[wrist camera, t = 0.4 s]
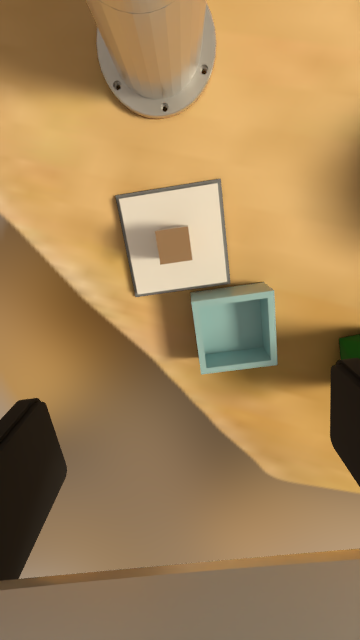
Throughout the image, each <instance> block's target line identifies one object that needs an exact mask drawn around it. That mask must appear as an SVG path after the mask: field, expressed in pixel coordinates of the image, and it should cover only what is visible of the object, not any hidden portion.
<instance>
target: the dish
mask: <svg viewBox="0 0 360 640" xmlns="http://www.w3.org/2000/svg"><path fill="white" fill-rule="evenodd" d="M190 294H191V304H192V311H193V319H194V326H195V333H196V340H197V347H198V355H199V362H200V369H201V374H208V373H216V372H225V371H233V370H241V369H249V368H257V367H265V366H273V365H278V364H277V342H276V320H275V299H274V290H273V289H272V288H270V287H269V286H268V285H266V284H265V283H264V282H261V283H254V284H247V285H239V286H232V287H225V288H218V289H211V290H204V291H197V292H190Z"/></svg>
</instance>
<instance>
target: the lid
mask: <svg viewBox="0 0 360 640" xmlns="http://www.w3.org/2000/svg"><path fill="white" fill-rule="evenodd" d="M119 202H120V207H121V212H122V217H123V223H124V228H125V233H126V238H127V243H128V248H129V253H130V258H131V263H132V268H133V273H134V278H135V283H136V289H137V294H145V293H152V292H159V291H166V290H173V289H180V288H187V287H194V286H202V285H209V284H216V283H223V282H227V275H226V265H225V254H224V244H223V233H222V223H221V213H220V202H219V192H218V183H215V184H209V185H203V186H196V187H190V188H184V189H178V190H171V191H165V192H159V193H153V194H146V195H140V196H134V197H128V198H122V199H119Z"/></svg>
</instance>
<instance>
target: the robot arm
mask: <svg viewBox="0 0 360 640" xmlns="http://www.w3.org/2000/svg"><path fill="white" fill-rule="evenodd" d="M86 3H87V5H88V7H89V9H90V12H91V14H92V16H93V18H94V20H95V23H96V25H97V38H96V46H97V55H98V60H99V64H100V67H101V71H102V73H103V75H104V78H105V80H106V82H107V84H108V86H109V87H110V89H111V91H112V92H113V94H114V95H115V96H116V97H117V99H118V100H119V101H120V102H121V103H122V104H123V105H125V106H126V107H127V108H128V109H130V110H131V111H133V112H135V113H136V114H138V115H141V116H144V117H147V118H156V119H161V118H169V117H172V116H175V115H177V114H180V113H181V112H183V111H185V110H186V109H188V108H189V107H190V106H191V105H192V104H193V103H194V102H195V101H197V99H198V98H199V97H200V95H201V94H202V93H203V91H204V89H205V87H206V85H207V83H208V81H209V79H210V76H211V73H212V70H213V66H214V60H215V53H216V34H215V26H214V22H213V18H212V14H211V12H210V9H209V7H208V5H207V2H206V0H86ZM202 71H205V72H206V74H202ZM118 86H120V87H121V88H120V89H119V90H117V87H118ZM163 108H167V111H166V112H164V111H163ZM330 438H331V442H332V445H333V447H334V449H335V450H336V452H337V453H338V455H339V456H340V458H341V459H342V461H343V462H344V464H345V465H346V467H347V468H348V470H349V471H350V473H351V474H352V476H353V477H354V479H355V480H356V482H357V483H358V485H359V486H360V359H359V358H351V359H343V360H338V361H337V363H336V365H333V366H332V367H331V409H330ZM66 473H67V467H66V463H65V460H64V457H63V454H62V451H61V448H60V445H59V442H58V439H57V436H56V433H55V430H54V427H53V424H52V421H51V418H50V415H49V412H48V409H47V406H46V404H45V403H44V402H41V401H40V400H39V399H38V398H34V399H26V400H19V401H18V402H16V404H15V405H14V406H13V407H12V408H11V409H10V410H9V411H8V412H7V413H6V414H5V415H4V416H3V417H2V419H1V420H0V640H360V549H351V550H350V549H349V550H337V551H325V552H314V553H301V554H290V555H277V556H266V557H254V558H243V559H230V560H221V561H220V560H219V561H208V562H196V563H186V564H174V565H163V566H152V567H141V568H130V569H119V570H109V571H97V572H87V573H77V574H66V575H55V576H45V577H35V578H24V579H19V576H20V574H21V572H22V570H23V568H24V566H25V564H26V561H27V559H28V557H29V555H30V553H31V550H32V549H33V546H34V544H35V542H36V540H37V538H38V536H39V533H40V531H41V529H42V527H43V525H44V523H45V521H46V518H47V516H48V514H49V512H50V510H51V508H52V505H53V503H54V501H55V499H56V497H57V495H58V493H59V490H60V488H61V486H62V484H63V482H64V480H65V477H66Z"/></svg>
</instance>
